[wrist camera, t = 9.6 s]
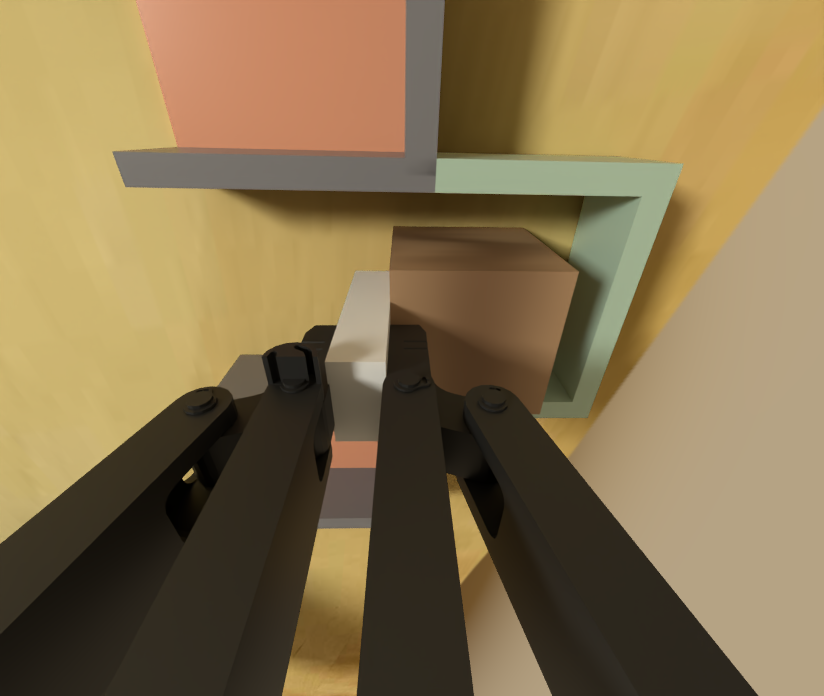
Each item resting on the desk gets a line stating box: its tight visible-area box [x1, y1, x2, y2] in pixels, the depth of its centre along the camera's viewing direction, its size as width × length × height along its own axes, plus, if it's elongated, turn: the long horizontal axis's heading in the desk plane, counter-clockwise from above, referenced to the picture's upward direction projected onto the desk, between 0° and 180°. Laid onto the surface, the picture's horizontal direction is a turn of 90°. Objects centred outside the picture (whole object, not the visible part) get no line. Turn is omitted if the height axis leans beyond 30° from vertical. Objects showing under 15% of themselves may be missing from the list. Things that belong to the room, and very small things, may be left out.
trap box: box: [113, 0, 683, 529], centre depth 16 cm, size 18×29×4 cm, turn 179°
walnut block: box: [389, 226, 579, 414], centre depth 15 cm, size 6×6×6 cm
